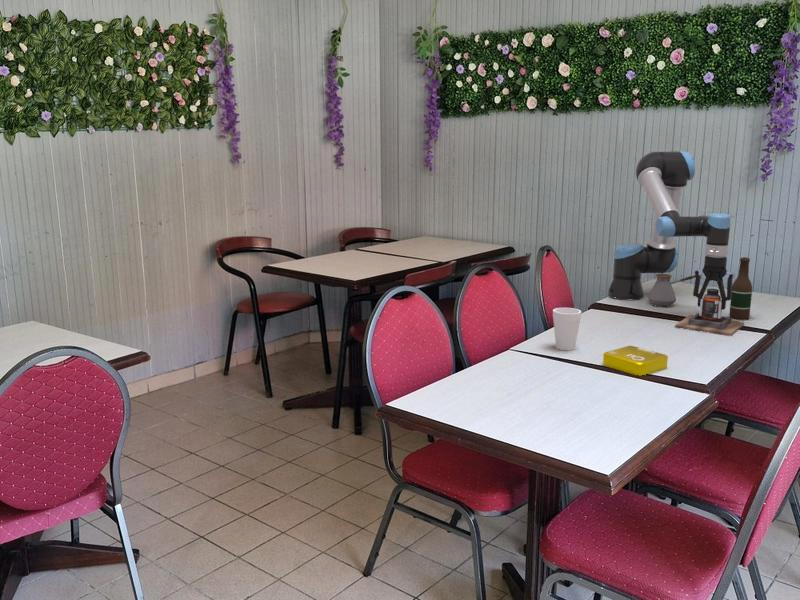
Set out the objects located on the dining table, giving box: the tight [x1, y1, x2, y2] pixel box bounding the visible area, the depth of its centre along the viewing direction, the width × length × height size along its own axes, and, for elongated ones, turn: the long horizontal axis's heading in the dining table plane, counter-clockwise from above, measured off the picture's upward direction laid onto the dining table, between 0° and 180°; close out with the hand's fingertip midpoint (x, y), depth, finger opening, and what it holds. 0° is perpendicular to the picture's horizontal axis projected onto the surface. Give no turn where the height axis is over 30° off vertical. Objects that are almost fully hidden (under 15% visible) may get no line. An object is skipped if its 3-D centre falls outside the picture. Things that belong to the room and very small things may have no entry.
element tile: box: [602, 345, 669, 377], centre depth 236 cm, size 15×15×5 cm
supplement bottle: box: [702, 288, 721, 320], centre depth 282 cm, size 6×6×11 cm
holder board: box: [674, 312, 745, 337], centre depth 283 cm, size 20×20×3 cm
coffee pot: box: [647, 273, 704, 307], centre depth 314 cm, size 21×12×15 cm, turn 54°
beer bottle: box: [728, 257, 753, 321], centre depth 293 cm, size 8×8×24 cm
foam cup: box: [552, 307, 582, 351], centre depth 254 cm, size 10×9×13 cm
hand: (710, 316), depth 283 cm, fingers closed on supplement bottle, 6 cm apart
